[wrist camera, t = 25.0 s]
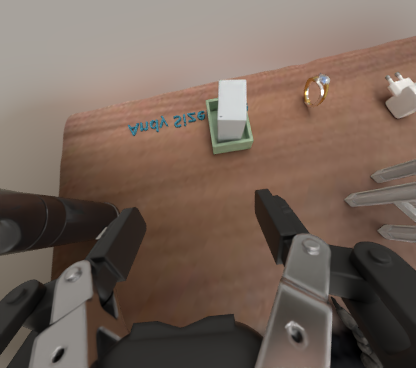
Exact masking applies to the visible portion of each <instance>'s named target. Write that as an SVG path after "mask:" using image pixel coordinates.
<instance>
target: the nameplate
mask: <svg viewBox="0 0 416 368" xmlns="http://www.w3.org/2000/svg"><path fill="white" fill-rule="evenodd" d="M246 105H247V103H246ZM246 109H247V111H248V106H246ZM201 113H204V111H200V112H198V115H197V117H198V119H199V120H203V119H204V118H205V114H203V115H201ZM187 115H188V116H189V117H190V118H191V119H193V120H189V122H194V121H196V119H195V118H193V117H192V116H191V115H195V112H194V113H188V114H187ZM207 115H208V113H207ZM173 117H174V119H175V118H179V119H178V120H177V121H176V122H175V124H174V125H175V127H178V128H179V127H181V124H180V125H177V124H178V123H179V122H180V121H181V117H180V116H173ZM201 117H202V118H201ZM161 118H162V121H161V124H160V128H162V125H163V122H164V123H165V124H166V126H168V124H167V123H166V121H165V119H164V118H163V116H161ZM183 118H184V123H186V119H185V114H183ZM154 122H155V123H156V126H155V127H152V125H153V123H154ZM128 126H129V128H130V130H131V132H132V134H133V136H135V134H136V132H137V129H138V126H139V123H137V124H136V126H135V127H130V125H128ZM150 126H151V128H152V129H155V128H156V131H157V132H159V130H158V120H156V121H154V120H152V121H150ZM184 126H186V124H184ZM132 129H134V132H133V131H132ZM140 130H141V131H143V130H145V131H146V130H148V122H147V121H146V128H145V129H144V128H143V125H142V123H140Z"/></svg>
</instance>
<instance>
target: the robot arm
mask: <svg viewBox="0 0 416 368" xmlns="http://www.w3.org/2000/svg"><path fill="white" fill-rule="evenodd" d="M255 214H256V217H257V220H258V222H259V225H260V227H261V229H262V232H263V234H264V236H265V239H266V241H267V243H268V246H269V248H270V251H271V253H272V255H273V258H274V260H275V262H276V265H277V264H283V265H284V267H285V268H284V271H283V275H282V278H281V280H280V283H279V286H278V289H277V293H276V296H275V300H274V303H273V307H272V310H271V313H270V317H269V320H268V324H267V327H266V331H265V334H264V337H263V336H261V335H260V334H259V333H258V332H257V331H255V330H254V329H253V328H251V327H249V326H248V325H245V324H243V323H241V322H237V321H235V319H234V314H228V315H217V316H208V317H206V318H203V319H201V320H199V321H197V322H194V323H192V324H190V325H188V326H185V327H183V328H179V327H176V326H172V325H169V324H165V323H162V322H158V321H154V322H143V323H133V326H132V329H131V333H129V330H128V328H127V327H126V325H125V323H124V321H123V317H122V312H121V308H120V303H119V299H118V294H117V290H116V288H115V285H116V282H120V281H126V279H127V276H128V274H129V271H130V269H131V266H132V264H133V261H134V259H135V257H136V254H137V252H138V249H139V247H140V244H141V242H142V240H143V237H144V235H145V232H146V223H145V221H144V219H143V217H142V215H141V214H140V212H139V210H138V208H136V207H133V208H126V209H123V210H122V212H121V213H120V214H119V211H118V209H117V208H116V207H115V206H114V205H113V204H110V203H101V202H94V201H86V200H79V199H71V198H63V197H55V196H46V195H39V194H30V193H23V192H16V191H11V190H5V189H0V256H2V255H8V254H14V253H20V252H25V251H31V250H37V249H42V248H48V247H54V246H60V245H66V244H72V243H78V242H84V241H89V240H96V239H99V240H98V241H97V243H96V244H95V245H94V247H93V248H92V250H91V251H90V252H89V254H88V255H87V257H86V258H85V260H83V261H79V262H77V263H75V264H73V265H71V266H70V267H69V268H67V269H66V270H65V271H64V272H63V273H62V274H61V275H60V277H59V278H58V279H55V280H53V281H50V282H48V283H46V284H42V283H40V282H39V281H37V280H30V281H27V282H24V283H23V284H21V285H19V286H18V287H16V288H15V289H13V290H12V291H11V292H9V293H8V294H7V295H6V296H5V297H4V298H3V299H2V300H1V301H0V355H1V354H2V352H3V351H4V350H5V348H6V347H7V345H8V344H9V343H10V341H11V340H12V339H13V337H14V336H15V335H16V333H17V332H18V330H19V329H20V328H21V326H23V327H26V328H28V329H30V330H32V331H31V333H30V334H29V335H28V337H27V338H26V340H25V341H24V343H23V344H22V346H21V347H20V349H19V350H18V352H17V353H16V355H15V356H14V357H13V359H12V361H11V362H10V363H9V365H8V366H7V368H330V353H331V330H332V306H331V304H330V303H329V301H328V294H331V295H335V296H339V297H341V298H342V300H343V302H344V303H345V305H346V307H347V308H348V310H349V312H350V313H351V315H352V316H353V318H354V320H355V321H356V323H357V325H358V326H359V328H360V330H361V331H362V333H363V335H364V336H365V338H366V339H367V341H368V343H369V344H370V346H371V348H372V349H373V351H374V353H375V354H376V356H377V357H378V359H379V361H380V362H381V364H382V366H383V367H384V368H416V271H415V270H414V269H413V268H412V267H411V266H410V265H409V264H408V263H407V262H405V261H404V260H403V259H402V258H401V257H400V256H399V255H397V254H396V253H395V252H393V251H392V250H390V249H389V248H387V247H385V246H382V245H380V244H377V243H373V242H359V243H357V244H356V245H355V246H354V248H346V247H339V246H333V245H329V244H327V243H326V242H325V241H323V240H322V239H321V238H319V237H317V236H315V235H312V234H310V233H309V232H308V231H307V229H306V228H305V227H304V225H303V224H302V223H301V221H300V220H299V218H298V217H297V216H296V214H295V213H294V212H293V210H292V209H291V208H290V207H289V205H288V204H287V202H286V201H285V200H284V199H282V198H281V197H279V196H278V195H276V196H272V194H271V193H270V191H269V190H268V189H262V190H256V191H255Z"/></svg>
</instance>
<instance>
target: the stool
mask: <svg viewBox="0 0 416 368" xmlns="http://www.w3.org/2000/svg"><path fill="white" fill-rule="evenodd" d="M413 175H416V159H414V160H411V161H407V162H404V163H401V164H398V165H394V166H391V167H388V168H384V169H381V170H378V171H376V172H375V173H374V174H373V175H371V176H370V177H371V178H373V179H374V180H375V181H376V182H377V183H381V182H386V181H390V180H395V179H399V178H404V177H408V176H413ZM344 200H345V201H346V202H347V203H348V204H349V205H350V206H351V207H357V206H369V205H381V204H393V203H394V204H395V205H396V206H397V207H398V208H399V209H401V210H402V211H403V212H404V213H405V214H406V215H407V216H409V217H410V218H411V219H412V220H413V221H414V222H416V182H412V183H406V184H401V185H396V186H390V187H385V188H380V189H374V190H369V191H363V192H358V193H353V194H350V195H349V196H348V197H346V198H345V199H344ZM378 232H379V233H380V234H381V235H382V236H383V237H384V238H385V239H389V240H397V241H405V242H412V243H416V226H408V225H383V226H382V227H381V228H380V229H379V230H378Z"/></svg>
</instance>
